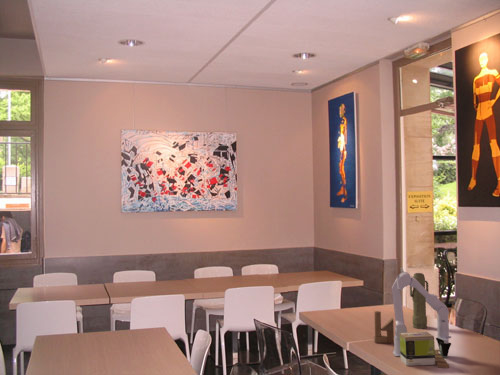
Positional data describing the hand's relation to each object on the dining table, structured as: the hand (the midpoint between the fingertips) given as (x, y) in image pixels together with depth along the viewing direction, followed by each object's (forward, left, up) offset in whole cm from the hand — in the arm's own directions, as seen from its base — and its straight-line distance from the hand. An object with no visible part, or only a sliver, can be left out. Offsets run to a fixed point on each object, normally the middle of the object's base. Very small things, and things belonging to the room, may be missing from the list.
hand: (443, 353), depth 294 cm
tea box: (+11, -16, -2) cm, 20 cm away
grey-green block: (0, -2, -2) cm, 3 cm away
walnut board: (+7, -4, -2) cm, 8 cm away
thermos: (-67, +1, -2) cm, 67 cm away
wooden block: (-28, -27, -2) cm, 39 cm away
